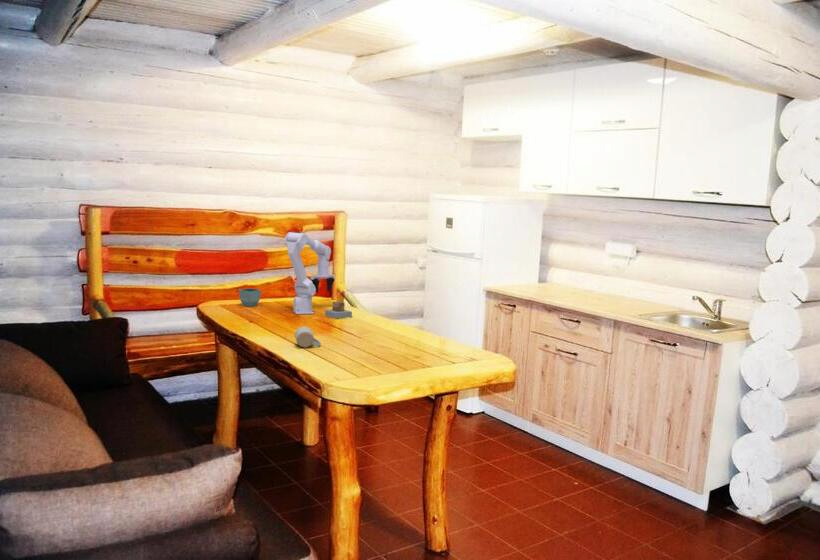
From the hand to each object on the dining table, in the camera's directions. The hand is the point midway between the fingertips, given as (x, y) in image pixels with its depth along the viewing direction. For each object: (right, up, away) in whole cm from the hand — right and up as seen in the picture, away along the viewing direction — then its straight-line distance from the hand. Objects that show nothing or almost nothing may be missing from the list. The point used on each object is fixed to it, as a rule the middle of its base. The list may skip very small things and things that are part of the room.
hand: (322, 291), depth 375 cm
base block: (+11, -13, -19) cm, 25 cm away
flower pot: (-40, -8, +1) cm, 41 cm away
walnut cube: (+11, -10, -20) cm, 24 cm away
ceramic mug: (+5, -22, -86) cm, 88 cm away
